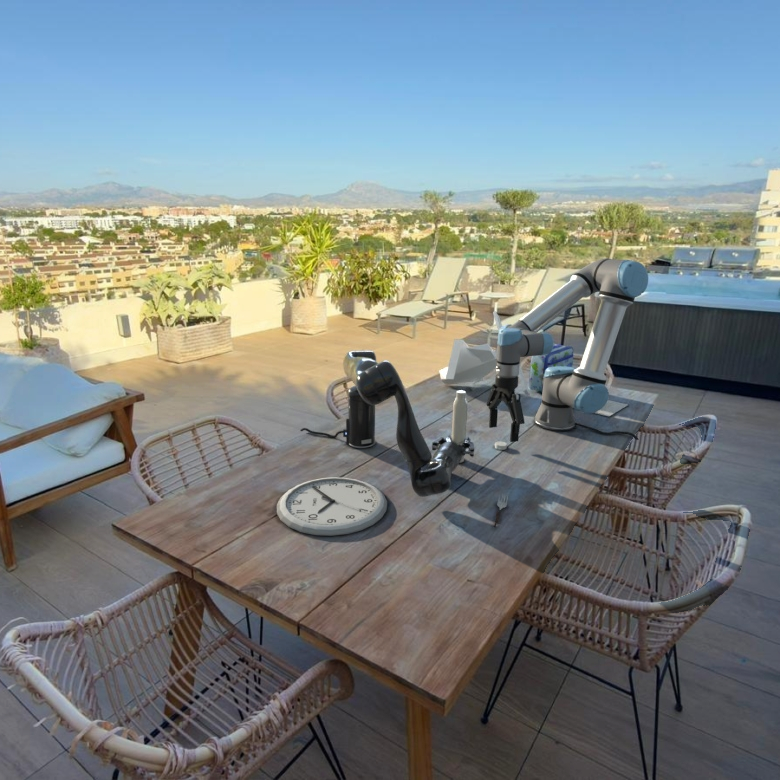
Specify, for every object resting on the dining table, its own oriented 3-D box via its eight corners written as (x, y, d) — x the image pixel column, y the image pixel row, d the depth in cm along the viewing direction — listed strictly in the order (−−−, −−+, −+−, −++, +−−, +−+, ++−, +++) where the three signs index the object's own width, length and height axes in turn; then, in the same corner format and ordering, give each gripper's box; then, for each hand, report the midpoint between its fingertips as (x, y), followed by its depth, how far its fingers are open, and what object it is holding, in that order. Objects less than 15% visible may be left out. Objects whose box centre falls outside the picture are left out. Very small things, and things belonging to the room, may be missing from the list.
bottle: (448, 458, 173) (451, 390, 166) (460, 456, 175) (464, 389, 168) (453, 463, 169) (457, 394, 162) (466, 462, 171) (470, 393, 164)
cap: (503, 450, 180) (503, 446, 179) (492, 447, 182) (493, 443, 182) (508, 447, 183) (508, 443, 182) (497, 444, 185) (498, 440, 185)
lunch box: (545, 397, 238) (550, 352, 231) (524, 391, 245) (529, 348, 239) (572, 386, 255) (578, 344, 249) (552, 381, 262) (557, 340, 256)
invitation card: (608, 416, 214) (573, 407, 224) (608, 416, 214) (573, 408, 224) (628, 404, 229) (594, 396, 238) (628, 405, 229) (594, 397, 238)
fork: (489, 527, 133) (489, 520, 132) (498, 498, 147) (499, 492, 147) (499, 529, 132) (500, 523, 132) (508, 500, 147) (508, 494, 146)
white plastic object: (461, 429, 252) (437, 405, 227) (444, 352, 274) (420, 323, 250) (535, 404, 240) (518, 377, 215) (510, 326, 262) (492, 293, 237)
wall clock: (392, 527, 129) (268, 531, 127) (391, 533, 130) (269, 537, 127) (383, 473, 158) (282, 475, 155) (383, 478, 158) (282, 480, 156)
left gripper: (471, 450, 154) (482, 430, 169) (424, 443, 159) (439, 424, 174) (469, 473, 156) (480, 452, 171) (423, 465, 161) (438, 445, 176)
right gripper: (478, 366, 185) (475, 423, 191) (518, 386, 162) (513, 449, 169) (497, 365, 187) (493, 420, 193) (539, 384, 165) (533, 446, 171)
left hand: (460, 438), depth 172 cm, fingers closed on bottle, 4 cm apart
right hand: (503, 434), depth 181 cm, fingers open, 13 cm apart
